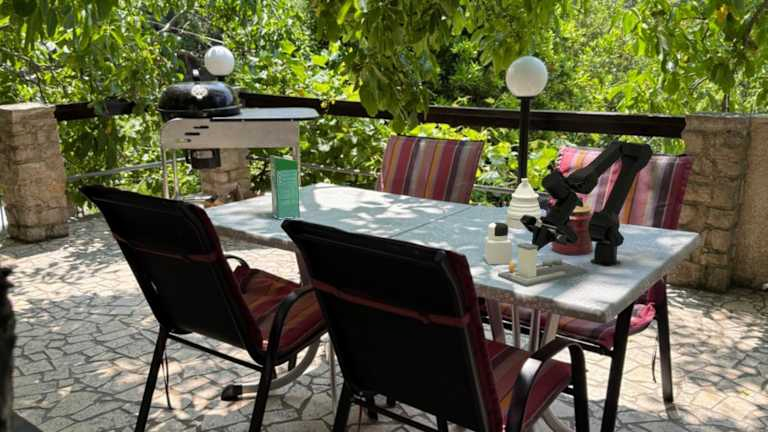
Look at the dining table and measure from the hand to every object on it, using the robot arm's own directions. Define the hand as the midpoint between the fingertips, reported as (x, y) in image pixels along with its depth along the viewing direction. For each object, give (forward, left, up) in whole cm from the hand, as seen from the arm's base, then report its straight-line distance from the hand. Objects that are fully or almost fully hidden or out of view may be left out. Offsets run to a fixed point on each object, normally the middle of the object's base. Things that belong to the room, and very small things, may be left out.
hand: (532, 252), depth 208 cm
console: (-6, -2, -8) cm, 11 cm away
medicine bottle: (-4, -20, -8) cm, 22 cm away
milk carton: (+24, -117, -8) cm, 120 cm away
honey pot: (-43, -51, -8) cm, 67 cm away
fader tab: (+2, 0, -8) cm, 8 cm away
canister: (-32, -16, -8) cm, 37 cm away
